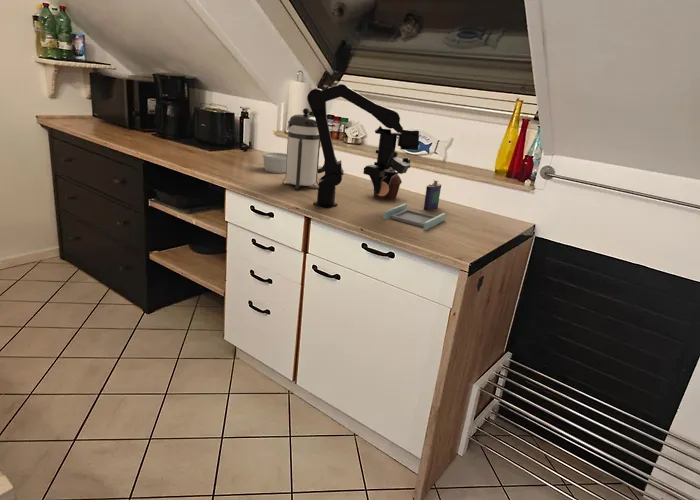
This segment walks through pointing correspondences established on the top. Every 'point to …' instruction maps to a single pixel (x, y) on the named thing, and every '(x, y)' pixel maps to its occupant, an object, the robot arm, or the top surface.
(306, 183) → the coffee press
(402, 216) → the dish
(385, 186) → the ball
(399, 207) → the acrylic walls
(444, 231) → the top surface
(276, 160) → the ramekin
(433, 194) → the flask
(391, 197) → the muffin
